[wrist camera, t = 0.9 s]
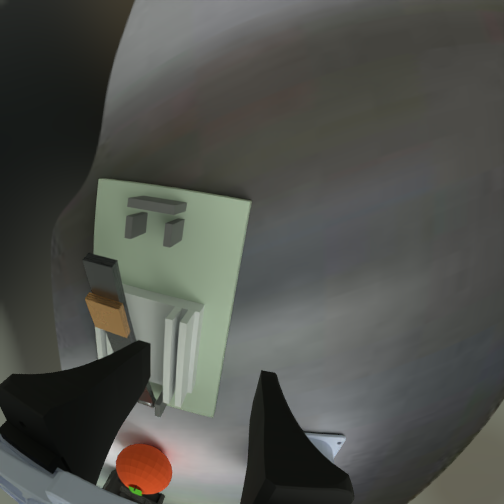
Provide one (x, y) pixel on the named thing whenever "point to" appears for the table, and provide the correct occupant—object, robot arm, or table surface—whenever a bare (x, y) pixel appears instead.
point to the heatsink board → (174, 281)
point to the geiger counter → (116, 486)
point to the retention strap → (111, 308)
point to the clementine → (143, 469)
